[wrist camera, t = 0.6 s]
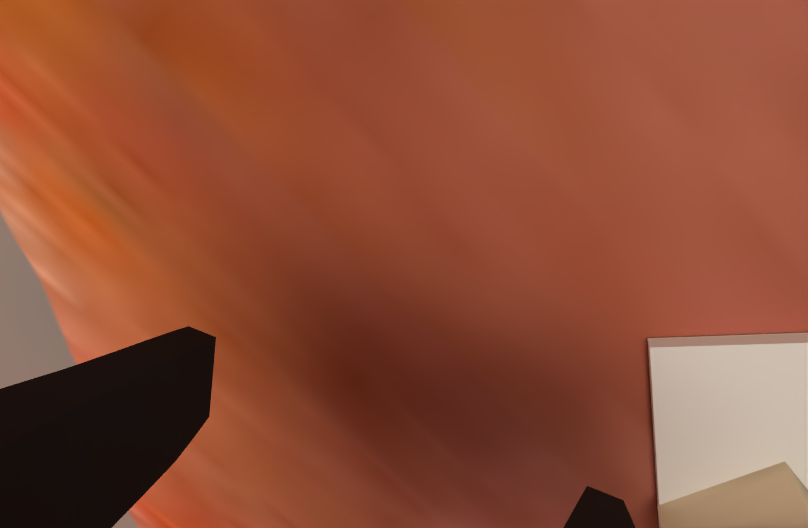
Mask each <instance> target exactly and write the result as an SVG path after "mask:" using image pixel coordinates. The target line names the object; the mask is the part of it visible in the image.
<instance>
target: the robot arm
mask: <svg viewBox="0 0 808 528" xmlns="http://www.w3.org/2000/svg"><path fill="white" fill-rule="evenodd" d="M215 341H216V337H214V336H211V335H209V334H206V333H204V332H201V331H199V330H196V329H194V328H191V327H189V326H188V327H185V328H182V329H178V330H175V331H172V332H169V333H166V334H163V335H161V336H158V337H155V338H152V339H149V340H146V341H144V342H141V343H138V344H135V345H132V346H129V347H127V348H124V349H121V350H118V351H115V352H113V353H110V354H107V355H104V356H101V357H98V358H95V359H92V360H89V361H87V362H84V363H81V364H78V365H75V366H72V367H69V368H66V369H63V370H60V371H57V372H53V373H51V374H47V375H44V376H41V377H38V378H34V379H31V380H28V381H24V382H21V383H18V384H15V385H12V386H8V387H5V388H2V389H0V528H112V527H113V526H114V525H115V523H117V521H118V520H119V519H120V518H121V517H122V516H123V515H124V514H125V513H126V512H127V511H128V510H129V509H130V508H131V507H132V506H133V505H134V504H135V503H136V502H137V501H138V500H139V499H140V498H141V497H142V496H143V495H144V494H145V493H146V492H147V491H148V489H149V488H150V487H151V486H152V485H153V484H154V483H155V482H156V481H157V480H158V479H159V478H160V477H161V476H162V475H163V474H164V473H165V472H166V471H167V470H168V468H169V467H170V466H171V465H172V464H173V463H174V462H175V461H176V460H177V458H178V457H179V456H180V455H181V453H182V452H183V451H184V449H185V448H186V447H187V446H188V444H189V443H190V442H191V441H192V439H193V438H194V436H195V435H196V434H197V432H198V431H199V430H200V428H201V427H202V426H203V424H204V423H205V422H206V420H207V419H208V417H209V412H210V400H211V389H212V377H213V365H214V353H215ZM564 528H635V525H634V523H633V521H632V519H631V516H630V514H629V512H628V510H627V508H626V505H625V503H624V501H623V500H621V499H618V498H616V497H613V496H611V495H608V494H606V493H603V492H601V491H598V490H596V489H593V488H591V487H588V486H587V487H586V489H585V491H584V492H583V494H582V496H581V498H580V499H579V501H578V503H577V505H576V507H575V508H574V510H573V512H572V514H571V515H570V517H569V519H568V521H567V522H566V524H565V526H564Z"/></svg>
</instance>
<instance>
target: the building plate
mask: <svg viewBox="0 0 808 528" xmlns="http://www.w3.org/2000/svg"><path fill="white" fill-rule="evenodd" d="M647 340H648V357H649V373H650V390H651V406H652V422H653V439H654V455H655V471H656V488H657V504H658V505H660V504H663V503H666V502H669V501H672V500H674V499H677V498H680V497H683V496H686V495H689V494H692V493H695V492H698V491H700V490H703V489H706V488H709V487H712V486H715V485H718V484H721V483H723V482H726V481H729V480H732V479H735V478H738V477H741V476H744V475H746V474H749V473H752V472H755V471H758V470H761V469H764V468H767V467H770V466H772V465H775V464H778V463H781V462H784V461H785V462H786V463H787V464H788V466H789V467H790V468H791V469H792V471H793V472H794V473H795V474H796V476H797V477H798V478H799V479H800V481H801V482H802V483H803V485H804V486H805V487H806V488H807V490H808V332H806V333H778V334H750V335H722V336H695V337H667V338H647ZM658 521H659V528H661V526H660V520H659V515H658Z"/></svg>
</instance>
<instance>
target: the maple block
mask: <svg viewBox="0 0 808 528" xmlns="http://www.w3.org/2000/svg"><path fill="white" fill-rule="evenodd" d="M657 509H658V515H659V520H660V526H661V528H808V490H807V488H806V487H805V486H804V485H803V483H802V482H801V481H800V479H799V478H798V477H797V476H796V474H795V473H794V472H793V471H792V469H791V468H790V467H789V466H788V464H787V463H786V462H785V461H784V462H781V463H778V464H775V465H772V466H770V467H767V468H764V469H761V470H758V471H755V472H752V473H749V474H746V475H744V476H741V477H738V478H735V479H732V480H729V481H726V482H723V483H721V484H718V485H715V486H712V487H709V488H706V489H703V490H700V491H698V492H695V493H692V494H689V495H686V496H683V497H680V498H677V499H674V500H672V501H669V502H666V503H663V504H660V505H657Z"/></svg>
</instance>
